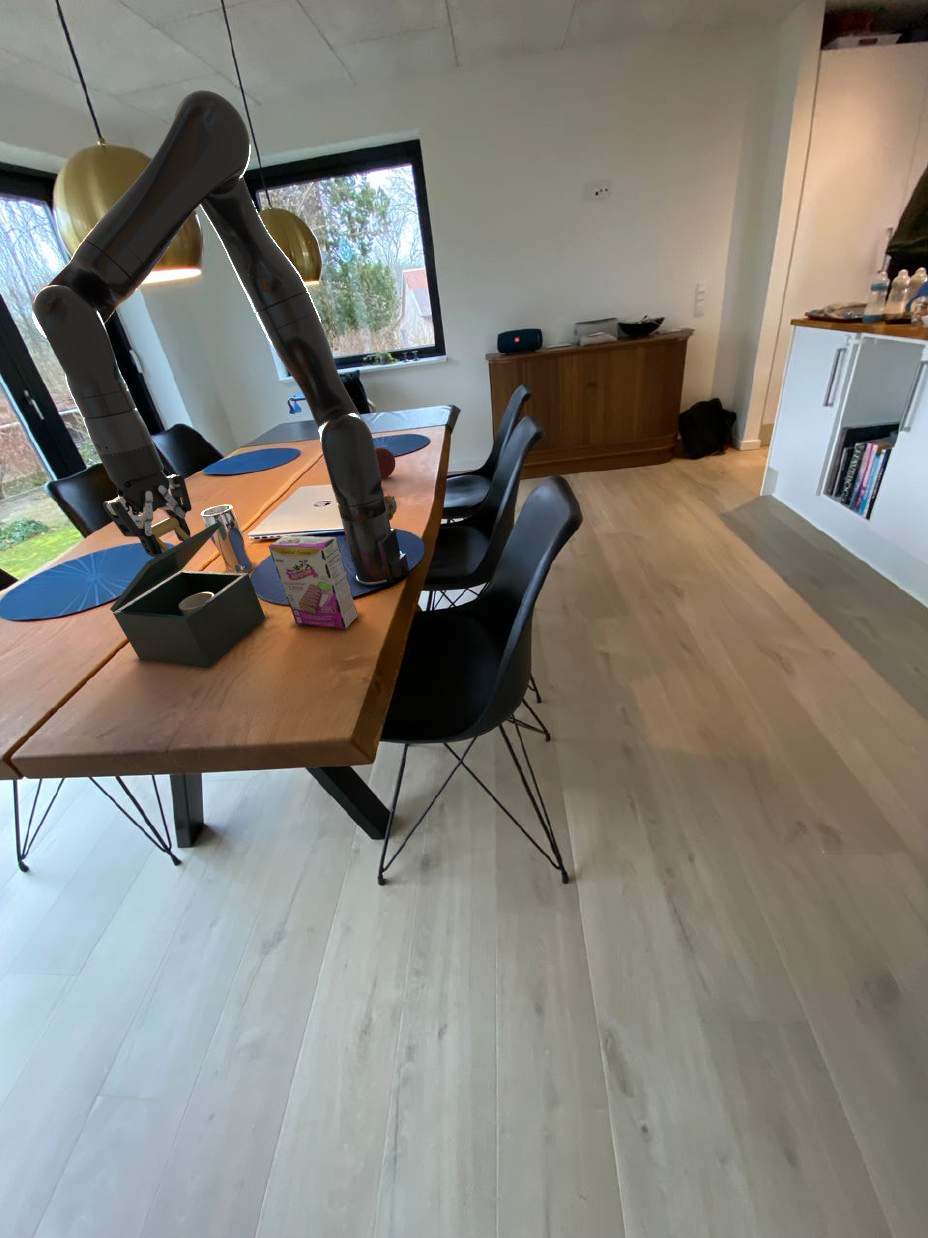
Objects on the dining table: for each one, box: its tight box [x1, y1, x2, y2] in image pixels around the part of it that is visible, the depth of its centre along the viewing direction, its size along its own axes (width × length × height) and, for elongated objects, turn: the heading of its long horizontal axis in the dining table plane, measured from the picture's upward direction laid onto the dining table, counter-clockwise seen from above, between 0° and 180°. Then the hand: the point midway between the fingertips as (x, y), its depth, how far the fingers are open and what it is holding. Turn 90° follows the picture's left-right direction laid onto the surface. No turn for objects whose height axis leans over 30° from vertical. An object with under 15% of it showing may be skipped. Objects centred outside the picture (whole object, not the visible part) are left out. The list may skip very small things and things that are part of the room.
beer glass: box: [200, 504, 255, 573], centre depth 117 cm, size 7×7×15 cm
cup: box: [179, 592, 214, 616], centre depth 93 cm, size 6×6×8 cm
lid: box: [109, 516, 221, 613], centre depth 88 cm, size 17×16×6 cm
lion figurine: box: [344, 494, 398, 540], centre depth 127 cm, size 15×5×9 cm, turn 110°
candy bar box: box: [267, 534, 359, 630], centre depth 91 cm, size 11×5×16 cm, turn 71°
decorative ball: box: [374, 446, 396, 479], centre depth 170 cm, size 10×10×10 cm
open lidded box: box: [112, 569, 267, 669], centre depth 93 cm, size 16×16×10 cm
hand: (171, 547), depth 85 cm, fingers closed on lid, 5 cm apart
